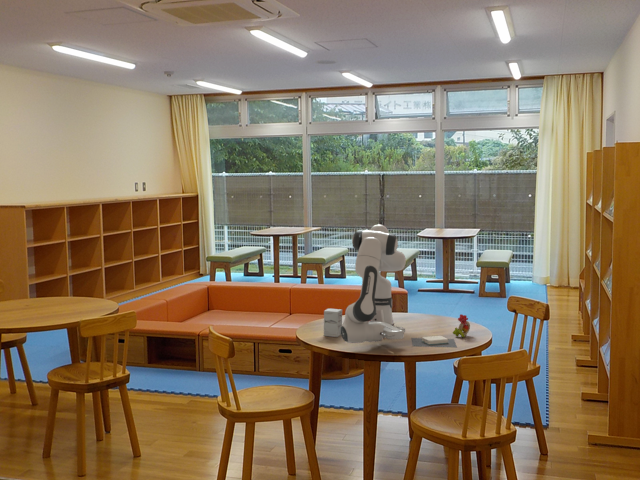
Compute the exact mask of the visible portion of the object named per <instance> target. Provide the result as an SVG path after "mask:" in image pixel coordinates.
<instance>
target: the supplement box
mask: <svg viewBox="0 0 640 480" xmlns="http://www.w3.org/2000/svg"><path fill="white" fill-rule="evenodd" d="M342 325H343V309H340V308H339V309H338V308H326V309H325V310H323V337H333V338H338V337H340V336H341V326H342Z"/></svg>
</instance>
